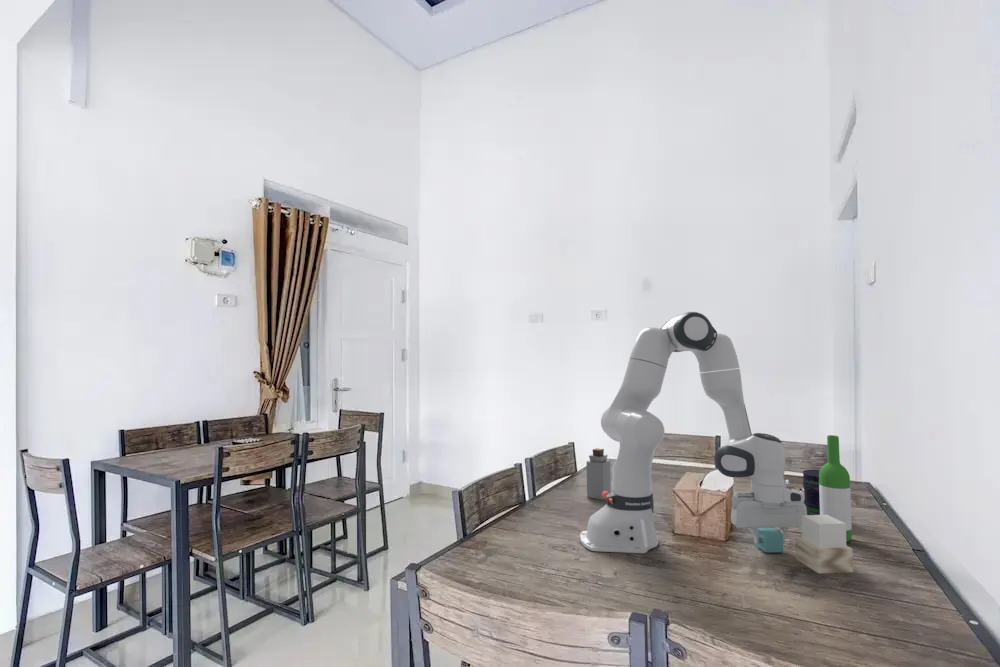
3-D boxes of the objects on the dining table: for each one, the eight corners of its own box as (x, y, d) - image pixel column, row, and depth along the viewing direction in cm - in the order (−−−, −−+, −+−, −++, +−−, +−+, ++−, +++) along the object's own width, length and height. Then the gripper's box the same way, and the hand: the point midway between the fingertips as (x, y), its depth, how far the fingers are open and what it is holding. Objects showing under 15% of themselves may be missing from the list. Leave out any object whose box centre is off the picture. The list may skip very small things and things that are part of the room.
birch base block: (818, 574, 130) (817, 549, 130) (796, 559, 139) (795, 536, 139) (853, 572, 130) (852, 548, 130) (828, 558, 139) (828, 535, 139)
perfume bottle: (594, 493, 204) (594, 447, 205) (610, 495, 200) (610, 448, 201) (587, 497, 199) (586, 449, 199) (603, 499, 195) (602, 451, 195)
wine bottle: (824, 541, 151) (820, 437, 152) (817, 532, 158) (814, 433, 159) (855, 544, 148) (852, 438, 149) (847, 535, 155) (844, 434, 156)
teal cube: (765, 552, 142) (765, 533, 142) (755, 545, 147) (755, 527, 147) (783, 552, 142) (782, 533, 142) (773, 545, 147) (772, 527, 147)
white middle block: (819, 548, 131) (819, 524, 131) (802, 538, 138) (801, 515, 138) (846, 547, 131) (845, 523, 131) (827, 537, 138) (826, 514, 138)
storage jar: (833, 526, 163) (831, 478, 164) (799, 518, 171) (797, 473, 171) (843, 519, 170) (841, 473, 170) (810, 512, 177) (808, 468, 178)
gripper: (737, 496, 142) (738, 547, 141) (810, 495, 142) (811, 546, 142) (726, 490, 148) (727, 539, 148) (796, 489, 149) (797, 538, 148)
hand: (769, 542), depth 145 cm, fingers closed on teal cube, 5 cm apart
